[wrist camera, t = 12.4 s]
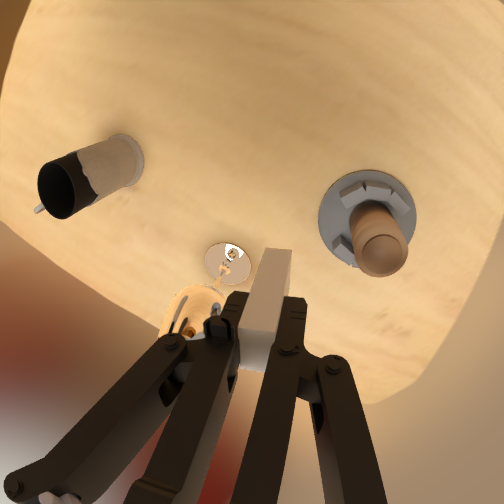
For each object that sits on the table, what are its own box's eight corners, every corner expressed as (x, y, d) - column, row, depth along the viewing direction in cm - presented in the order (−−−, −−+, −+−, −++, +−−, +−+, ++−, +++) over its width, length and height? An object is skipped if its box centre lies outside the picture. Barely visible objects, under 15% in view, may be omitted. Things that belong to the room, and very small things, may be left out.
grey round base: (323, 163, 38) (324, 169, 35) (423, 179, 35) (432, 186, 32) (313, 257, 44) (312, 270, 41) (402, 268, 42) (407, 281, 39)
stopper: (353, 196, 38) (362, 225, 30) (397, 205, 37) (416, 235, 29) (345, 238, 41) (349, 275, 33) (386, 245, 40) (399, 283, 32)
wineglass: (218, 232, 46) (157, 317, 29) (261, 260, 46) (224, 358, 29) (196, 267, 50) (138, 353, 33) (236, 292, 50) (195, 387, 33)
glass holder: (152, 173, 43) (90, 209, 30) (96, 206, 49) (37, 244, 36) (129, 124, 40) (59, 143, 27) (75, 164, 45) (12, 193, 32)
